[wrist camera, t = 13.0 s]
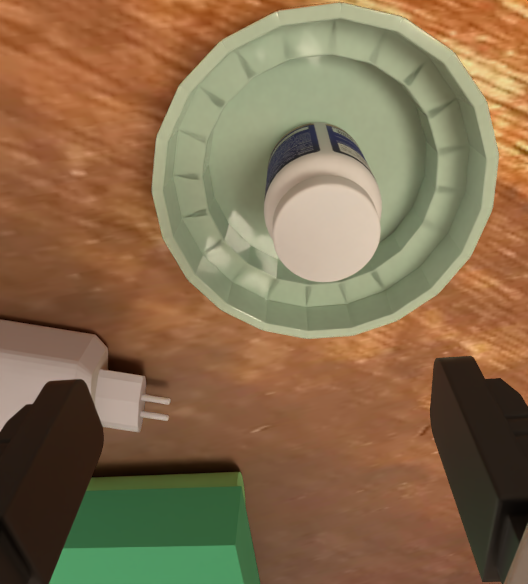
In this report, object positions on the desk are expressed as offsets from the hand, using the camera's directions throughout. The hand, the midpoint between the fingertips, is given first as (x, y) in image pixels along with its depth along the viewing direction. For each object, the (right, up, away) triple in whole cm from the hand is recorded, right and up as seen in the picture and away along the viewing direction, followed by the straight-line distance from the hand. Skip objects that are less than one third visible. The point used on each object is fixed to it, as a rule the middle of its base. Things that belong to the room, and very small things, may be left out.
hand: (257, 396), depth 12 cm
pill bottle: (+3, +10, +19) cm, 21 cm away
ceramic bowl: (+3, +10, +19) cm, 22 cm away
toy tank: (-8, -27, +41) cm, 50 cm away
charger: (-14, -4, +28) cm, 32 cm away
